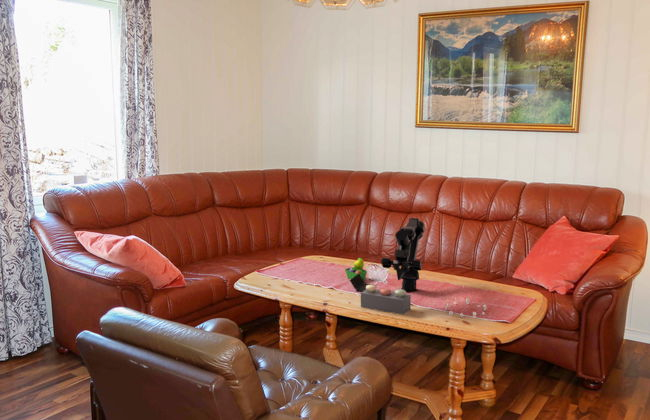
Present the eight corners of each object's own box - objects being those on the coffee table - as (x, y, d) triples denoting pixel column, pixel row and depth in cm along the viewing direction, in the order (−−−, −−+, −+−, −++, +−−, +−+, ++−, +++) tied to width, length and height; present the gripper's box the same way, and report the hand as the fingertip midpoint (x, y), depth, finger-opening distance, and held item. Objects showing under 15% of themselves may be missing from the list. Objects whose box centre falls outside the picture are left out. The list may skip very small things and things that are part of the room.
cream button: (373, 292, 278) (373, 284, 278) (377, 295, 274) (377, 287, 273) (364, 293, 277) (364, 285, 276) (368, 296, 272) (368, 288, 271)
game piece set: (454, 300, 281) (454, 293, 280) (494, 309, 269) (494, 301, 268) (435, 312, 266) (435, 304, 266) (476, 322, 254) (476, 314, 253)
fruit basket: (344, 278, 319) (343, 258, 317) (356, 274, 324) (356, 255, 322) (357, 283, 310) (356, 262, 308) (369, 279, 315) (369, 259, 313)
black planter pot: (372, 290, 293) (359, 272, 295) (360, 298, 295) (347, 280, 297) (377, 286, 305) (365, 268, 307) (365, 294, 307) (353, 277, 309)
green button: (402, 297, 271) (402, 288, 270) (407, 300, 266) (407, 291, 266) (393, 298, 269) (393, 290, 268) (398, 301, 265) (398, 293, 264)
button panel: (360, 306, 275) (360, 292, 273) (368, 301, 281) (368, 288, 280) (403, 314, 264) (403, 300, 262) (410, 309, 270) (410, 294, 269)
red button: (387, 296, 275) (387, 287, 274) (392, 299, 270) (392, 290, 270) (378, 297, 273) (378, 289, 272) (383, 300, 269) (383, 292, 268)
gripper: (381, 241, 276) (376, 269, 268) (420, 243, 270) (416, 273, 262) (385, 253, 285) (380, 281, 276) (423, 255, 278) (419, 284, 270)
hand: (398, 279), depth 271 cm, fingers closed
